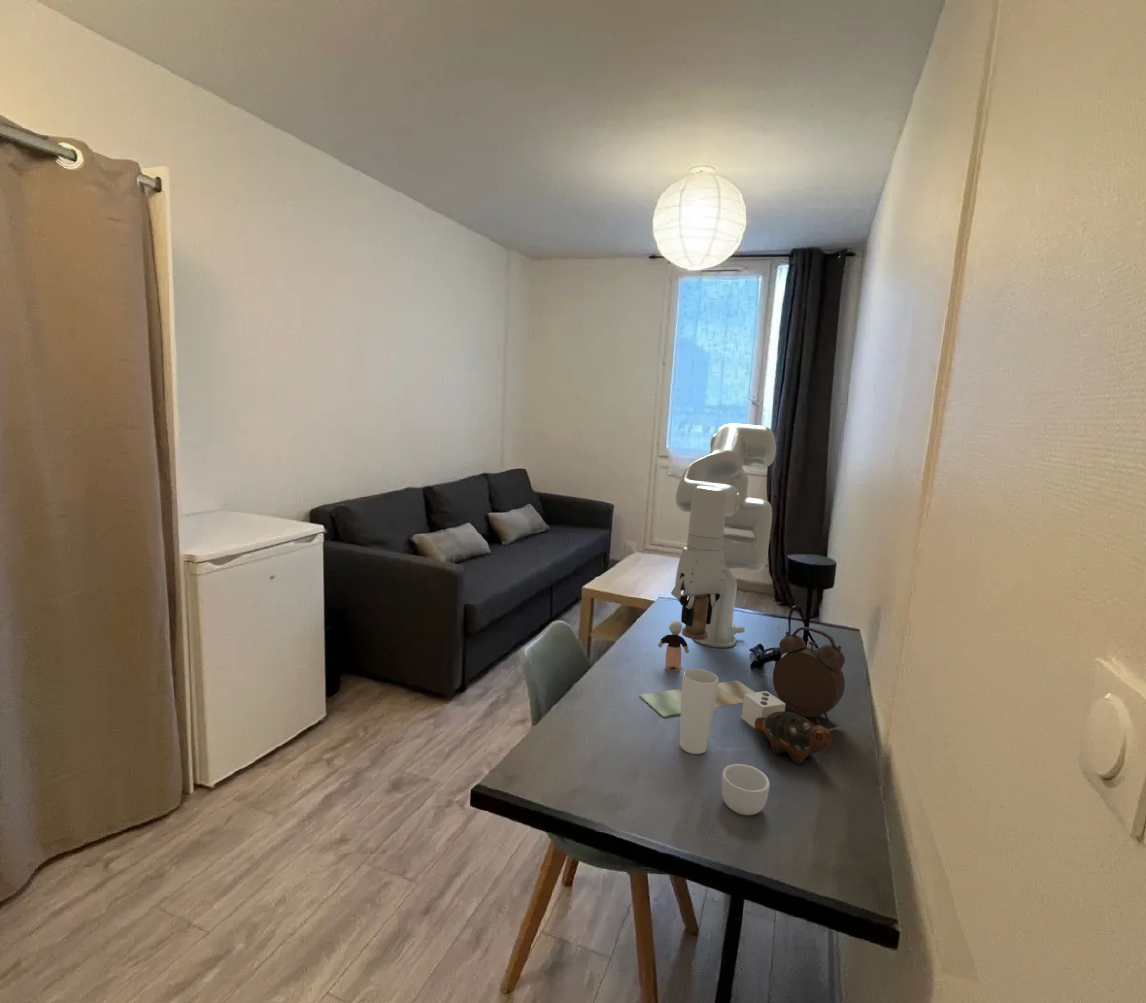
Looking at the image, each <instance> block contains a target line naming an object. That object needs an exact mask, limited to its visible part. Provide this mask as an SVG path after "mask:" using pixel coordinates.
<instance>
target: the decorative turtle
mask: <svg viewBox="0 0 1146 1003" xmlns="http://www.w3.org/2000/svg"><path fill="white" fill-rule="evenodd" d="M754 730H756V731H757V732H758V733H760V734H763V735H765V736H766V737H767V739H768V741H769V742H770V747H771V750H772V751H773V753H774V754H776V755H781V754H783V753H784V752H786V753H787V754H788V755H789V757H790V759H791V761H792V762H793V763H794V764H796V765H799V764H802V763H803V761H804V760H805V759H806V758H807V757H808V756H811V755H812V754H814V753H818V752H822V751H823V750H825V749H826V748H827V747H828V746H829V745H831V741H832V735H831V733H830V732H829V731H830V730H828V729H827V728H826V727H824V726H822V725H819V724H815V725H814V723H813V722H811V720H809V719H808V718H806V716H803V715H800V714H797V713H795V712H793V711H785V712H783V711H780V712H774V713H772V714H770V715H768V716H767V718H763V717H759V718H757V719H756V720H755V728H754Z"/></svg>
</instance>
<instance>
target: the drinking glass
mask: <svg viewBox="0 0 1146 1003" xmlns="http://www.w3.org/2000/svg"><path fill="white" fill-rule="evenodd" d="M718 683H719V677H718V676H717V674H715V673H714V672H712V671H709V670H708V669H702V668H688V669H687V670H684V671H683V674H682V681H681V688H680V689H681V715H680V720H679V721H680V725H679V726H680V728H679V730H680V731H679V741H678V743H679V747H680V748H681V750H683V751H684V752H686V753H688V754H691V755H701V754H704V753H706V751H707V748H708V741H709V738H710V737H709V736H710V731H711V728H712V721H713V719H714V718H713V716H714V712H715V708H716V707H715V704H716V699H717V692H718Z"/></svg>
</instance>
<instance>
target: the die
mask: <svg viewBox="0 0 1146 1003" xmlns="http://www.w3.org/2000/svg"><path fill="white" fill-rule="evenodd" d="M755 692H756V693H749V694H744V701H743V703H742V709H741V719H742V720H743V721H745V723H747V724H748V725H749V726H751V727H752V728H754V729H755V720H756V719H757V718H759V717H763V718H767V716H768V715H770V714H772V713H774V712H780V711H783V712H786V707H785V705H786V704H785V703H784V702H782V701H781V700H780V698H779V697H776V696H775V695H773V693H770V692H769V691H767V690H765V691H755Z"/></svg>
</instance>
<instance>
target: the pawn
mask: <svg viewBox="0 0 1146 1003" xmlns="http://www.w3.org/2000/svg"><path fill="white" fill-rule="evenodd" d="M707 595H708V594H701V595H695V598H694V601H693V605H692V607H691V608H693V609H694V612H693V621H692V626H687V625H686V624H685V625H684V627H682V630H681V636H682V637H683V636H684V637H685V638H688V639H691V640H694V639H695V640H704V639H706V638H707V636H708V632H707V631H706V630H705V629H706V621H707V612H708V603H709V596H707ZM695 640H694V641H695Z"/></svg>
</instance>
